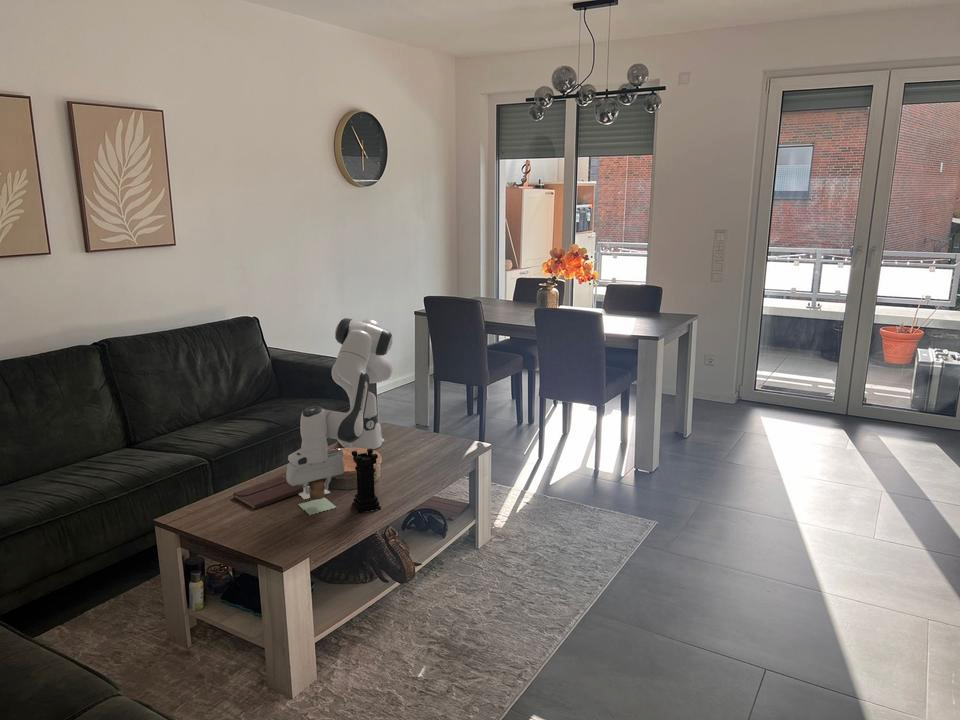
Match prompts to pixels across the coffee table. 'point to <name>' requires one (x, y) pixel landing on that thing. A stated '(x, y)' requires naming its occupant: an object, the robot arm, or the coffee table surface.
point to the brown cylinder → (317, 489)
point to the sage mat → (317, 506)
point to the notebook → (267, 492)
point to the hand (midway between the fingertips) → (316, 490)
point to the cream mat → (307, 496)
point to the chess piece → (365, 482)
